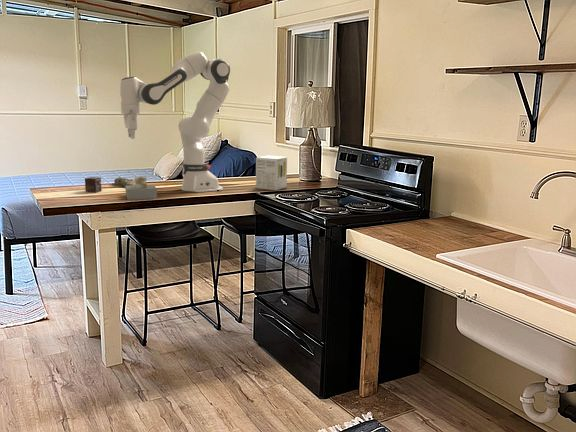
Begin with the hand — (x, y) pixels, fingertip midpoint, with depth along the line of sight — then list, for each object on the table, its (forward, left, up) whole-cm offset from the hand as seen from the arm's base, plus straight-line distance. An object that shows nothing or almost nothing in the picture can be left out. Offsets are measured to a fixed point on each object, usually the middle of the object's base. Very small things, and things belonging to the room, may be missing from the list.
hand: (131, 138), depth 282 cm
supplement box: (-76, -3, -29) cm, 81 cm away
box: (+19, -13, -29) cm, 37 cm away
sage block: (-3, +9, -24) cm, 26 cm away
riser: (-3, +9, -29) cm, 30 cm away
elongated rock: (-2, -23, -29) cm, 37 cm away
